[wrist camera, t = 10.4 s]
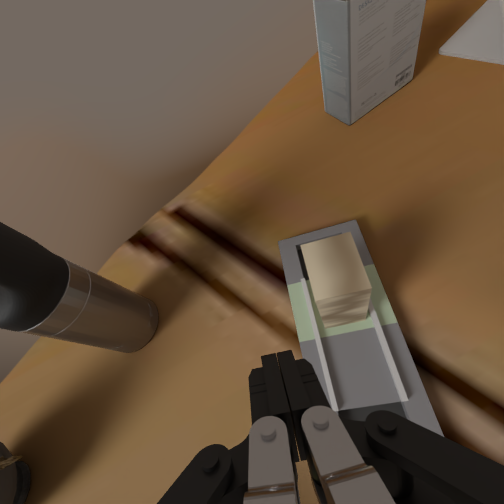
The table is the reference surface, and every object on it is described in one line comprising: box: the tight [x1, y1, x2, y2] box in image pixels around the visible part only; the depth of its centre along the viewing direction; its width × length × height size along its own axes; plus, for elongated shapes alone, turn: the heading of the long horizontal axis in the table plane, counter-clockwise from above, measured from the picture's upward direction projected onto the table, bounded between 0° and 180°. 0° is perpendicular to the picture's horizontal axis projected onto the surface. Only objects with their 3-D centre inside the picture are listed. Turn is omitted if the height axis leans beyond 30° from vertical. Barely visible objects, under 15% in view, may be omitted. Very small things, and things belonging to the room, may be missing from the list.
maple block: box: [300, 232, 372, 329], centre depth 31 cm, size 5×6×12 cm
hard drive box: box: [313, 0, 426, 125], centre depth 45 cm, size 16×8×20 cm, turn 123°
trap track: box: [278, 220, 444, 437], centre depth 34 cm, size 12×31×3 cm, turn 9°
